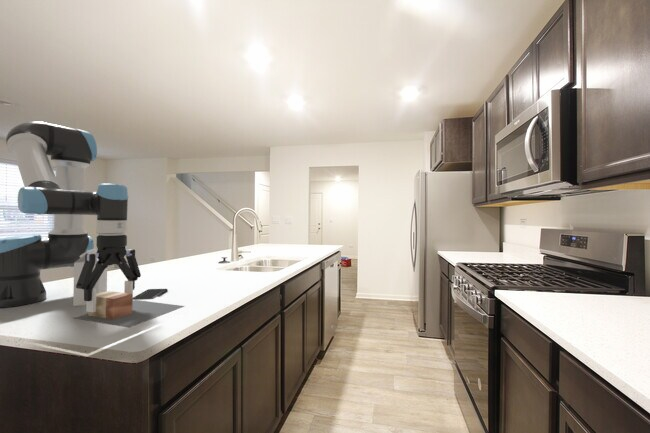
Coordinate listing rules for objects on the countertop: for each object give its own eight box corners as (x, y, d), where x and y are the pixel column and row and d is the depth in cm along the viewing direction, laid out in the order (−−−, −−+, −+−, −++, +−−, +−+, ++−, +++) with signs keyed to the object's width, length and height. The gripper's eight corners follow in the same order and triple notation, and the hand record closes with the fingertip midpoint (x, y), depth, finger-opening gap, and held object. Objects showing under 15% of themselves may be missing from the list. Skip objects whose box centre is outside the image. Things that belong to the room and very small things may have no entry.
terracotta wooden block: (88, 315, 87) (89, 295, 87) (108, 309, 93) (108, 290, 93) (113, 319, 84) (113, 298, 84) (132, 312, 90) (132, 293, 90)
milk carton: (106, 300, 105) (107, 248, 105) (98, 305, 99) (99, 250, 99) (83, 301, 103) (84, 248, 103) (72, 307, 96) (74, 250, 96)
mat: (72, 320, 85) (72, 318, 85) (135, 301, 104) (135, 299, 104) (129, 329, 78) (129, 327, 78) (184, 307, 98) (184, 306, 98)
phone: (168, 288, 120) (152, 298, 105) (168, 291, 120) (152, 301, 105) (147, 289, 119) (129, 299, 104) (147, 291, 119) (129, 302, 104)
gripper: (79, 237, 76) (77, 319, 76) (154, 233, 99) (153, 297, 99) (59, 236, 79) (58, 316, 79) (137, 232, 101) (136, 295, 101)
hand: (110, 305), depth 89 cm, fingers open, 11 cm apart
